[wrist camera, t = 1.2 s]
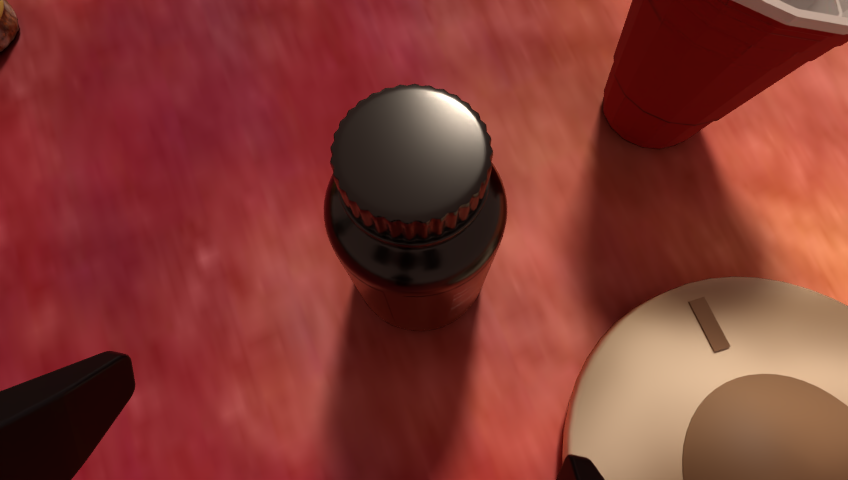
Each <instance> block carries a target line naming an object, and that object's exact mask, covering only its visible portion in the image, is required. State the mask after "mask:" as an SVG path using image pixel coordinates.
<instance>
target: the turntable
mask: <svg viewBox="0 0 848 480" xmlns="http://www.w3.org/2000/svg"><path fill="white" fill-rule="evenodd" d="M569 454H573V455H577V456H582V457H586V458H588V459H590V460H591V461H592V462H593V463H594V465H595V466H596V468H597V469H598V471H599V472H600V473H601V475H602V476H603V478H604V479H605V480H848V306H847V305H845V304H843V303H841V302H839V301H837V300H835V299H833V298H830V297H828V296H825V295H823V294H820V293H818V292H815V291H813V290H810V289H807V288H804V287H800V286H796V285H793V284H789V283H786V282H781V281H775V280H769V279H763V278H754V277H724V278H712V279H706V280H702V281H697V282H693V283H689V284H685V285H683V286H680V287H678V288H675V289H672V290H670V291H667V292H665V293H663V294H661V295H658V296H656V297H654V298H652V299H650V300H648V301H646V302H645V303H643V304H641V305H639V306H638V307H636V308H634V309H632V310H631V311H630V312H628V313H627V314H626V315H625V316H623V317H622V318H621V319H619V320H618V321H617V322H616V323H615V324H614V325H613V326H612V327H611V328H610V329H609V330H608V331H607V332H606V333H605V334H604V335H603V336H602V337H601V339H600V340H599V341H598V343H597V344H596V346H595V347H594V349H593V350H592V351H591V353H590V354H589V356H588V357H587V359H586V361H585V363H584V365H583V367H582V369H581V371H580V373H579V375H578V377H577V380H576V382H575V386H574V389H573V392H572V395H571V398H570V401H569V404H568V410H567V415H566V421H565V426H564V435H563V453H562V462H564V460H565V458H566V456H567V455H569Z"/></svg>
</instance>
